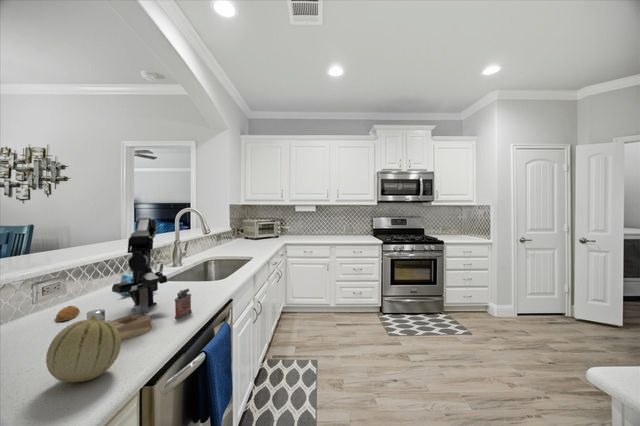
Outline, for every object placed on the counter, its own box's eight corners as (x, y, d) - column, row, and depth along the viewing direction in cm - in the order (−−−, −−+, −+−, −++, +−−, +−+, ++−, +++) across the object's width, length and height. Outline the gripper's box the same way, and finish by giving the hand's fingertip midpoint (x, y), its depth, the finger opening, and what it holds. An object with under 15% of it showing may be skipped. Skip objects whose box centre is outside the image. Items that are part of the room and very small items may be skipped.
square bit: (135, 314, 116) (134, 289, 116) (143, 311, 119) (143, 287, 119) (140, 315, 115) (139, 290, 115) (148, 312, 118) (147, 288, 117)
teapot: (153, 286, 161) (153, 266, 161) (158, 292, 149) (157, 271, 149) (120, 291, 152) (119, 270, 152) (122, 298, 140) (121, 275, 140)
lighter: (180, 319, 113) (180, 293, 113) (172, 318, 114) (172, 292, 113) (193, 311, 121) (193, 287, 121) (186, 311, 121) (185, 287, 121)
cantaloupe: (34, 403, 64) (32, 336, 64) (61, 369, 78) (60, 313, 78) (114, 386, 70) (113, 324, 70) (127, 358, 84) (125, 306, 83)
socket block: (104, 334, 99) (103, 323, 99) (134, 324, 108) (134, 313, 108) (120, 340, 95) (120, 328, 95) (150, 329, 103) (150, 318, 103)
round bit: (84, 329, 104) (83, 312, 104) (100, 324, 108) (100, 308, 108) (91, 332, 101) (91, 315, 101) (108, 327, 106) (107, 310, 106)
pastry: (75, 320, 113) (75, 310, 113) (52, 324, 109) (51, 314, 109) (80, 313, 121) (80, 303, 121) (59, 316, 118) (58, 306, 117)
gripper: (127, 272, 105) (128, 315, 105) (175, 263, 121) (175, 300, 121) (110, 269, 110) (111, 310, 110) (158, 261, 126) (159, 297, 127)
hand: (141, 304), depth 117 cm, fingers closed on square bit, 3 cm apart
